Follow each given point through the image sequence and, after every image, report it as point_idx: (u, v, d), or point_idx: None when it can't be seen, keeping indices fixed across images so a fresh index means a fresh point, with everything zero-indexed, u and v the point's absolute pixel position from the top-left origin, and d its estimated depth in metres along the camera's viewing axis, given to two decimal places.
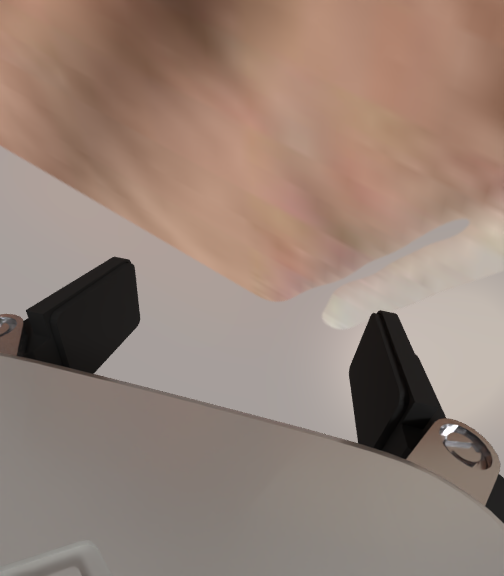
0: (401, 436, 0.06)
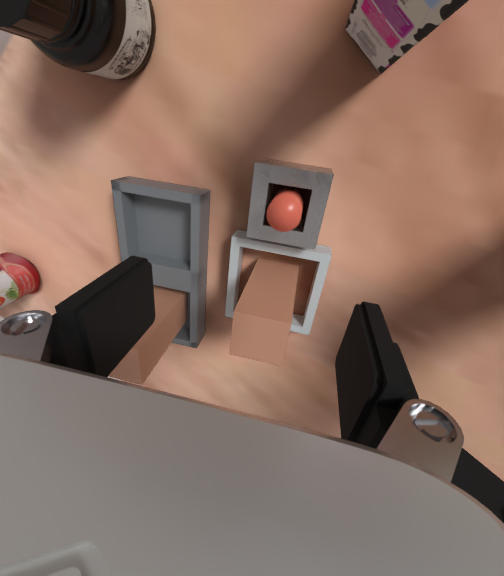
0: (375, 415, 0.07)
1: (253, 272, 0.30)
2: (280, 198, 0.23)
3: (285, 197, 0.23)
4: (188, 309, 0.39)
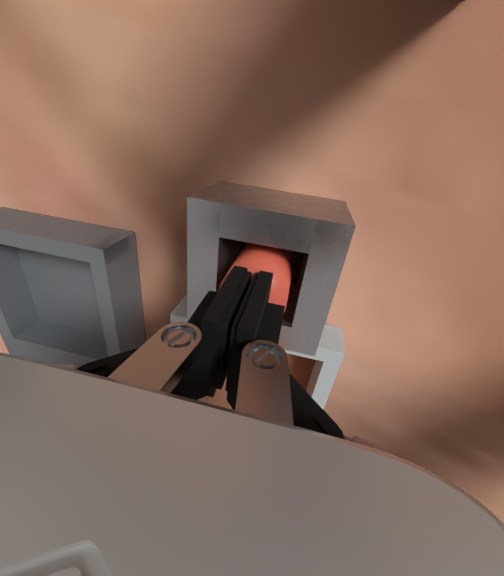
0: (233, 356, 0.08)
1: None
2: None
3: (253, 268, 0.11)
4: None
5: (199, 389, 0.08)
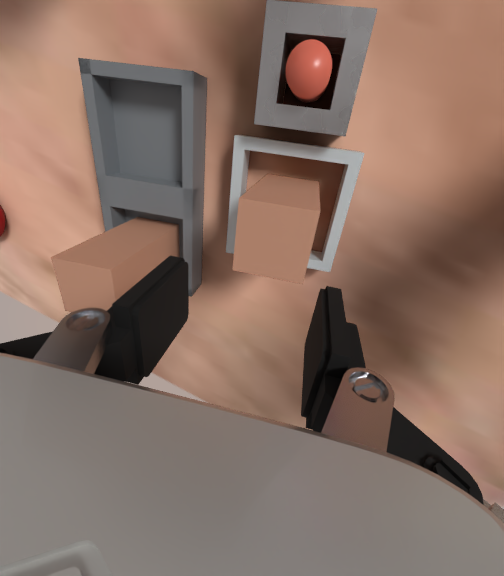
0: (324, 384, 0.07)
1: (262, 180, 0.24)
2: (304, 42, 0.18)
3: (311, 40, 0.18)
4: (181, 249, 0.32)
5: None
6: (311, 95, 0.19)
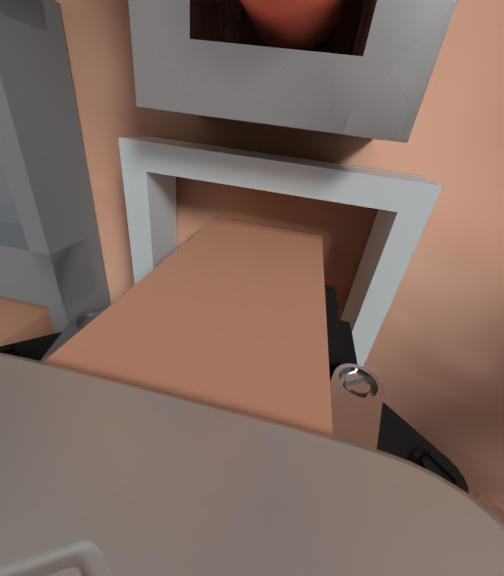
0: None
1: (184, 248, 0.10)
2: None
3: None
4: None
5: None
6: None
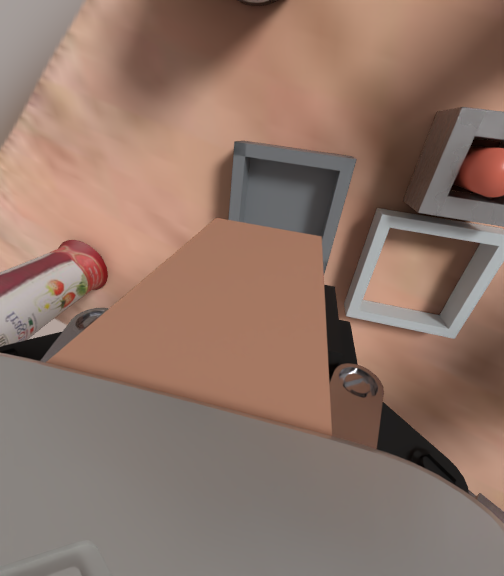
0: None
1: (183, 250, 0.10)
2: (503, 151, 0.18)
3: None
4: None
5: None
6: (496, 196, 0.19)
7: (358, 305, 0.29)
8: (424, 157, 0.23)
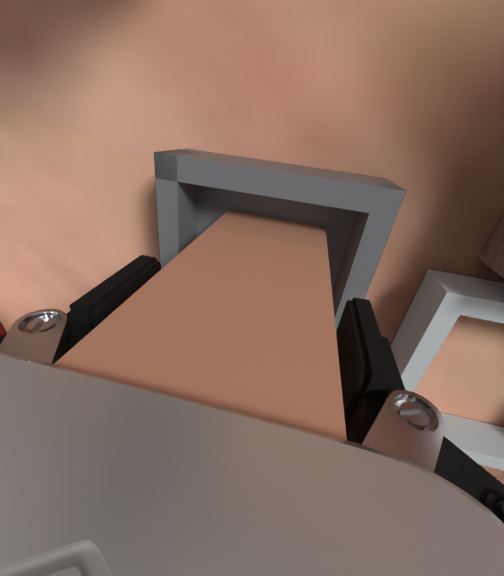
0: (362, 407, 0.07)
1: (204, 236, 0.11)
2: None
3: None
4: None
5: None
6: None
7: None
8: None
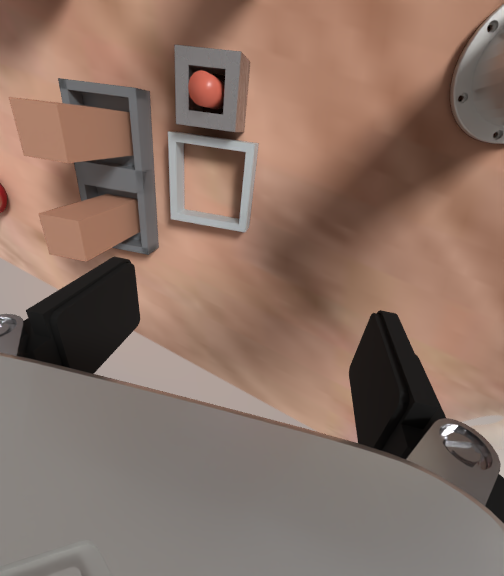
0: (402, 435, 0.06)
1: (72, 104, 0.33)
2: (197, 72, 0.28)
3: (201, 71, 0.28)
4: None
5: None
6: (206, 105, 0.29)
7: (175, 208, 0.39)
8: None
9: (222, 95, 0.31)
